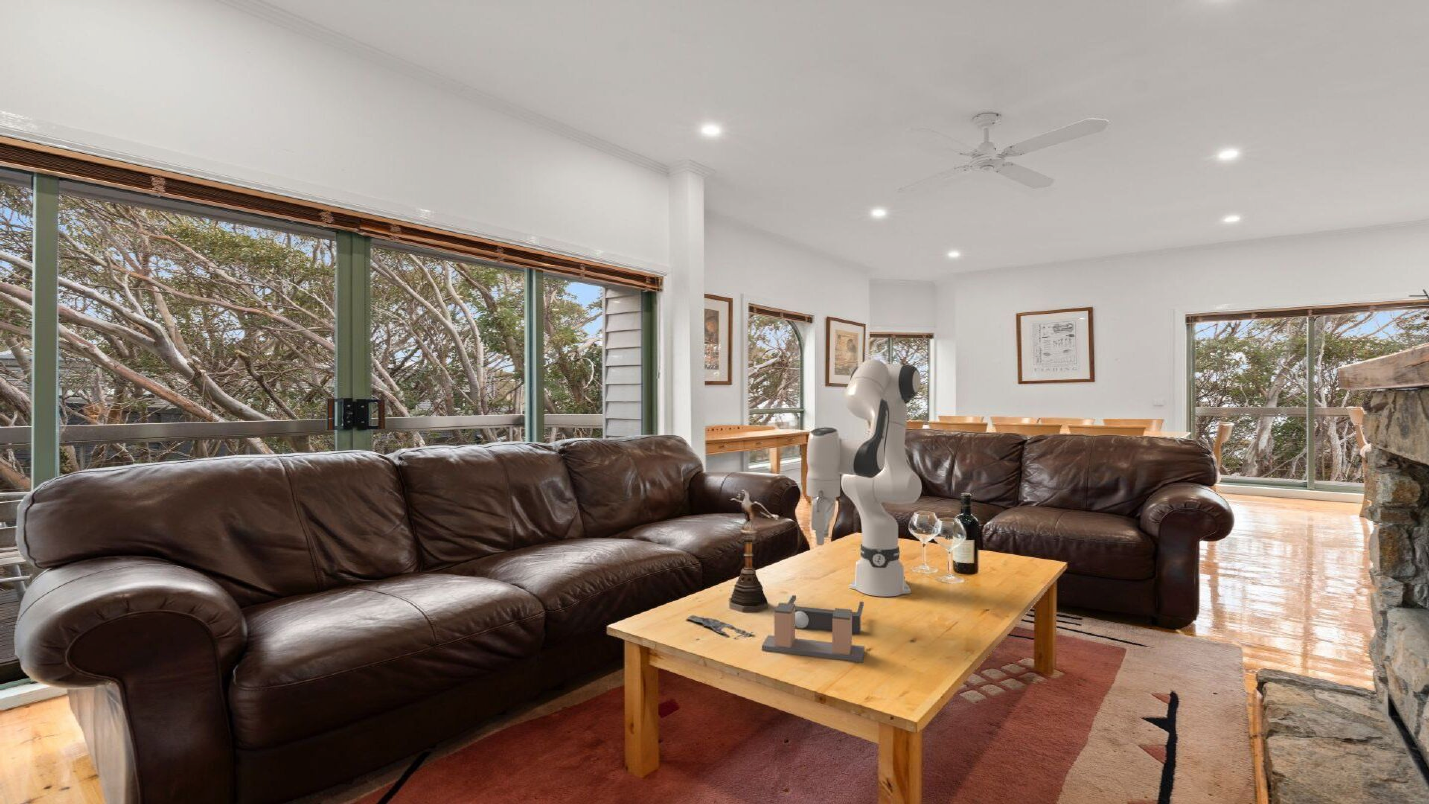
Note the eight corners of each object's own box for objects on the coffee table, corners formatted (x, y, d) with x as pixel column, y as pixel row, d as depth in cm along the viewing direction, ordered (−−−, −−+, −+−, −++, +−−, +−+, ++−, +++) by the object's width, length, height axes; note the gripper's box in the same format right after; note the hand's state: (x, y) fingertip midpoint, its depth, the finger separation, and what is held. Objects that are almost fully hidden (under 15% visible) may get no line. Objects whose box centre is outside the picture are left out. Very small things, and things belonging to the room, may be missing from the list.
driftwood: (682, 621, 181) (682, 613, 181) (702, 615, 186) (702, 608, 186) (734, 645, 165) (734, 636, 165) (753, 638, 170) (754, 630, 170)
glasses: (792, 611, 189) (792, 594, 188) (863, 618, 183) (863, 600, 182) (783, 627, 176) (783, 609, 175) (859, 636, 170) (859, 617, 170)
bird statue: (751, 592, 206) (751, 480, 205) (785, 601, 197) (785, 485, 196) (716, 605, 193) (716, 486, 192) (750, 615, 185) (751, 491, 184)
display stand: (768, 639, 167) (768, 600, 166) (864, 651, 159) (864, 610, 159) (761, 650, 160) (761, 609, 160) (862, 662, 153) (862, 620, 153)
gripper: (830, 495, 163) (830, 550, 164) (839, 484, 183) (838, 533, 183) (805, 494, 165) (804, 548, 165) (816, 483, 185) (816, 532, 185)
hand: (822, 540), depth 174 cm, fingers open, 8 cm apart
